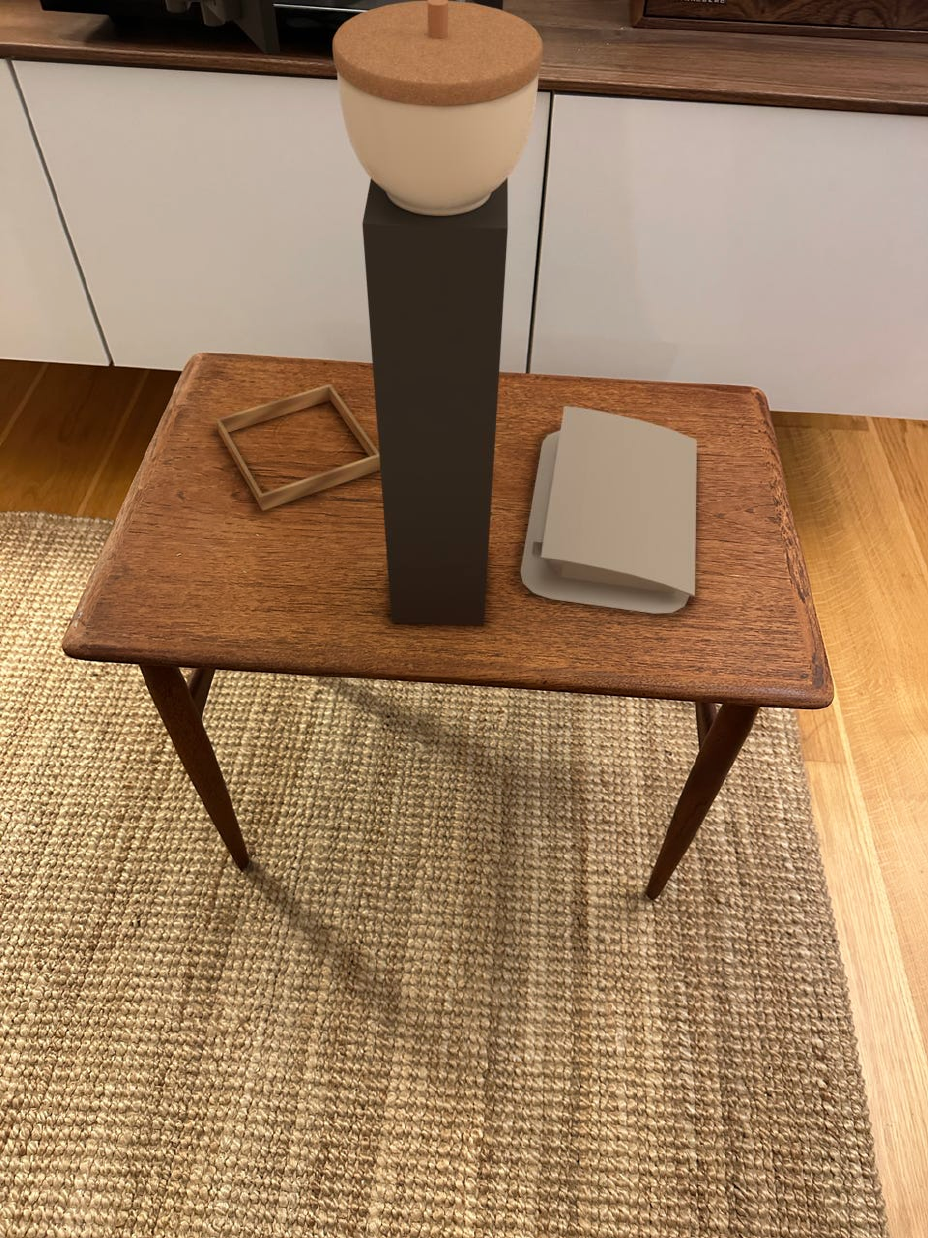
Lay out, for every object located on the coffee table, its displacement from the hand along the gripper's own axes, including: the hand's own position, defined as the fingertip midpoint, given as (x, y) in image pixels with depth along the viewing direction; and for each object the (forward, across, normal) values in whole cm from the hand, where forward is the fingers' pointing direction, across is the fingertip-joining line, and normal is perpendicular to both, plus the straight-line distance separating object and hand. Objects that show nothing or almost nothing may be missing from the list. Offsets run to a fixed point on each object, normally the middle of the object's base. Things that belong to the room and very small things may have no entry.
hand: (389, 4), depth 49 cm
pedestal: (+6, 0, -44) cm, 44 cm away
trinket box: (+6, 0, -8) cm, 10 cm away
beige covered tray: (+5, -19, -44) cm, 48 cm away
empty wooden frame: (-17, +4, -44) cm, 47 cm away
